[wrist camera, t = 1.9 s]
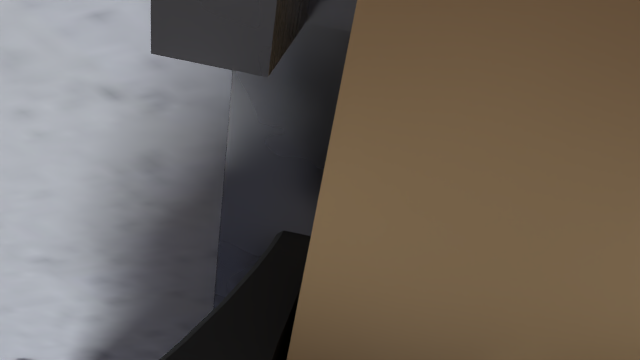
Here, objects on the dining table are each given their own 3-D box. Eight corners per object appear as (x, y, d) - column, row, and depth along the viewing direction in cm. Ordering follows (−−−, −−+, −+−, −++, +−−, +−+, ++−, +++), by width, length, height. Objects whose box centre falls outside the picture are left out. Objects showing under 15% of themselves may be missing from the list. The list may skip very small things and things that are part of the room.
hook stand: (452, 464, 16) (476, 687, 12) (211, 410, 16) (141, 609, 12) (827, -248, 7) (1603, -505, 3) (279, -349, 7) (95, -753, 3)
